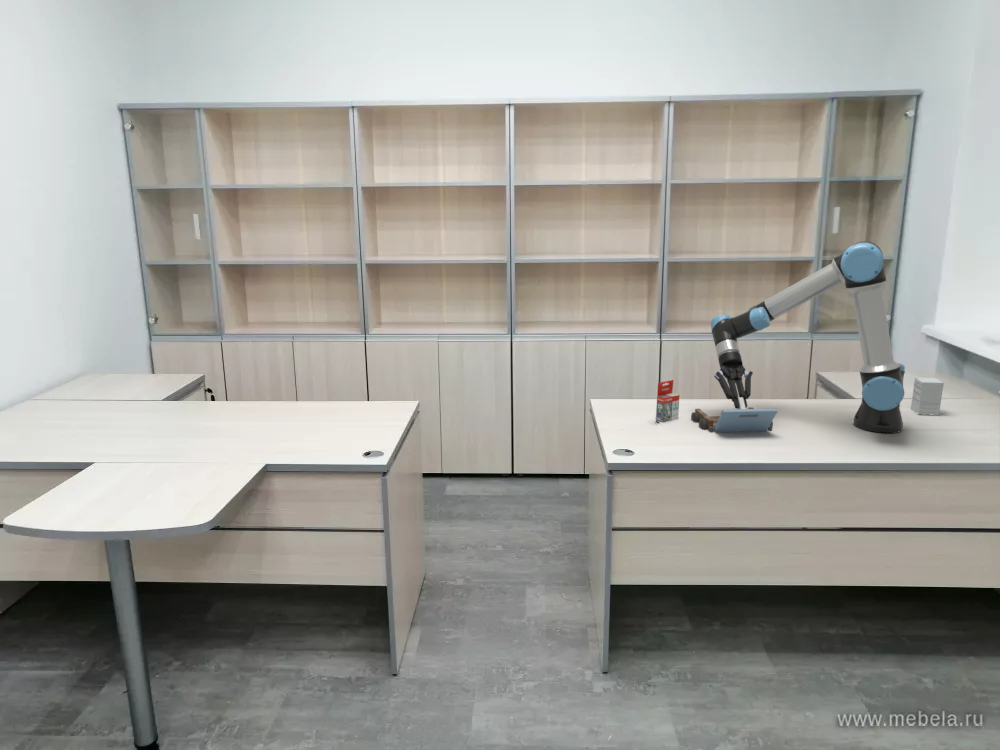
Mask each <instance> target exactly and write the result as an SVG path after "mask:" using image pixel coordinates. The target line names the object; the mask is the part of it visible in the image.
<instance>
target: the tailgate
mask: <svg viewBox="0 0 1000 750" xmlns="http://www.w3.org/2000/svg"><path fill="white" fill-rule="evenodd" d="M778 411H779V410H778V408H777V407H776V408H754V409H749V408H746V409H736V408H735V409H734V408H733V409H731V408H730V409H722V411H721V412H720V415H719V416H720V417H719V420H718V422H717V424H716V426H715V428H714V431H713V433H721V432H722V433H723V432H724V433H728V432H764V431H765V432H767V431H768V430H767V429H768V428H769V426H770V424H771V422H772V421H774V418H775V416H776V415H777V413H778Z"/></svg>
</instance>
